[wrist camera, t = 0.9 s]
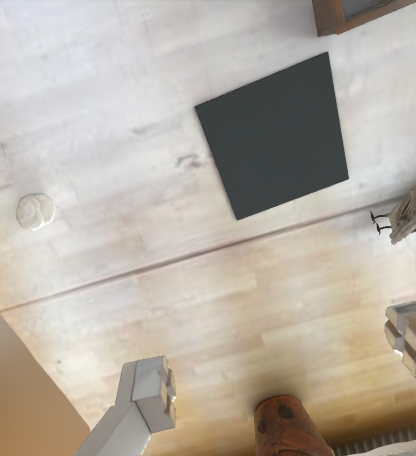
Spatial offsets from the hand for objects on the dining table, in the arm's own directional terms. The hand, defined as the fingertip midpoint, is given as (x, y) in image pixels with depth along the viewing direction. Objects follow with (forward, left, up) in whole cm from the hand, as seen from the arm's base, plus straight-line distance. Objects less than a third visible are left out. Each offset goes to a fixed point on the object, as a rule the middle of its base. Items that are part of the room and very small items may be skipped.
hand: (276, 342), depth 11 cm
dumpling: (+2, -29, -41) cm, 50 cm away
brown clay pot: (+74, -7, -41) cm, 85 cm away
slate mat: (+7, +10, -41) cm, 43 cm away
